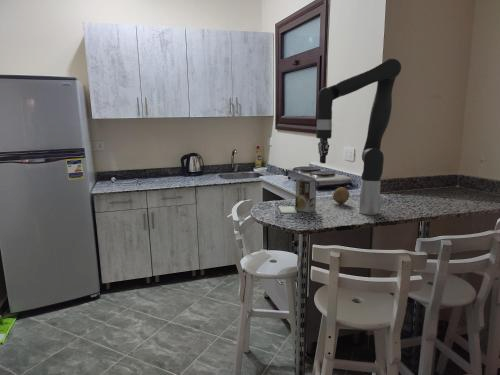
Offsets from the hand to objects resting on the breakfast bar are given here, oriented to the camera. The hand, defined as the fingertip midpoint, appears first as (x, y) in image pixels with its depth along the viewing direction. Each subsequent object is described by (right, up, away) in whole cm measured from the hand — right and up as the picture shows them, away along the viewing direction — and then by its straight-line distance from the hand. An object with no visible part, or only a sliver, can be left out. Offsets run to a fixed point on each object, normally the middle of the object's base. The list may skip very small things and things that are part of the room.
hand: (322, 162), depth 183 cm
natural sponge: (+14, -23, +17) cm, 32 cm away
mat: (-18, -25, +4) cm, 31 cm away
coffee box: (-8, -25, +4) cm, 27 cm away
